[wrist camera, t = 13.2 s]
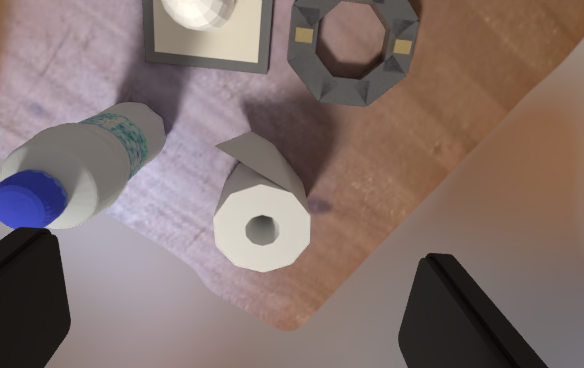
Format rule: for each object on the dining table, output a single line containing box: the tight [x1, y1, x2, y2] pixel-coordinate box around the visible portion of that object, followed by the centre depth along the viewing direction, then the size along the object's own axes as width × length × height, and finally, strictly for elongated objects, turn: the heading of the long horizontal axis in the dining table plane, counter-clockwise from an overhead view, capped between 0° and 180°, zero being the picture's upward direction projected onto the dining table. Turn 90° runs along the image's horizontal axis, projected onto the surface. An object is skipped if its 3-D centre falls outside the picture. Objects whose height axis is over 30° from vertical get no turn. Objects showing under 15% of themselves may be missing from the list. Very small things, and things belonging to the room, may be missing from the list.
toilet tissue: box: [213, 131, 310, 272], centre depth 37 cm, size 9×13×9 cm
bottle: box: [0, 102, 166, 229], centre depth 28 cm, size 7×7×20 cm
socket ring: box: [287, 0, 419, 107], centre depth 34 cm, size 12×12×2 cm
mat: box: [142, 0, 273, 74], centre depth 33 cm, size 12×12×1 cm
